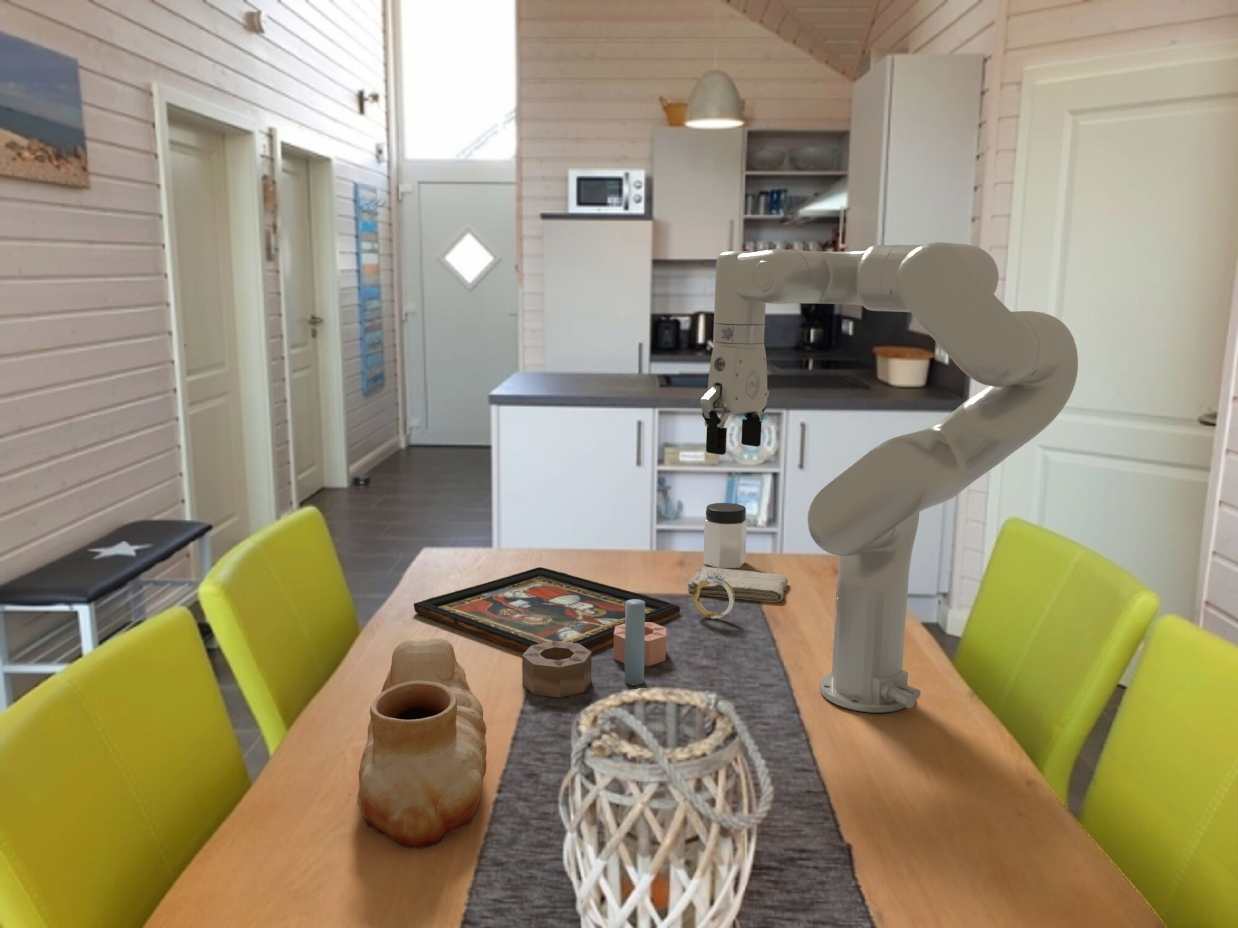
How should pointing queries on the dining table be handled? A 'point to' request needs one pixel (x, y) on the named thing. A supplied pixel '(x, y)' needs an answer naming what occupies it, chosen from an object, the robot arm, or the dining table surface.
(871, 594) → the robot arm
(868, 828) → the dining table surface
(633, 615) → the dowel
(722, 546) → the jar
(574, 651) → the bead
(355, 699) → the dining table surface
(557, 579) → the religious icon
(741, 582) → the washcloth
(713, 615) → the ring
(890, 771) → the dining table surface
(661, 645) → the pink octagonal nut
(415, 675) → the ceramic vessel
